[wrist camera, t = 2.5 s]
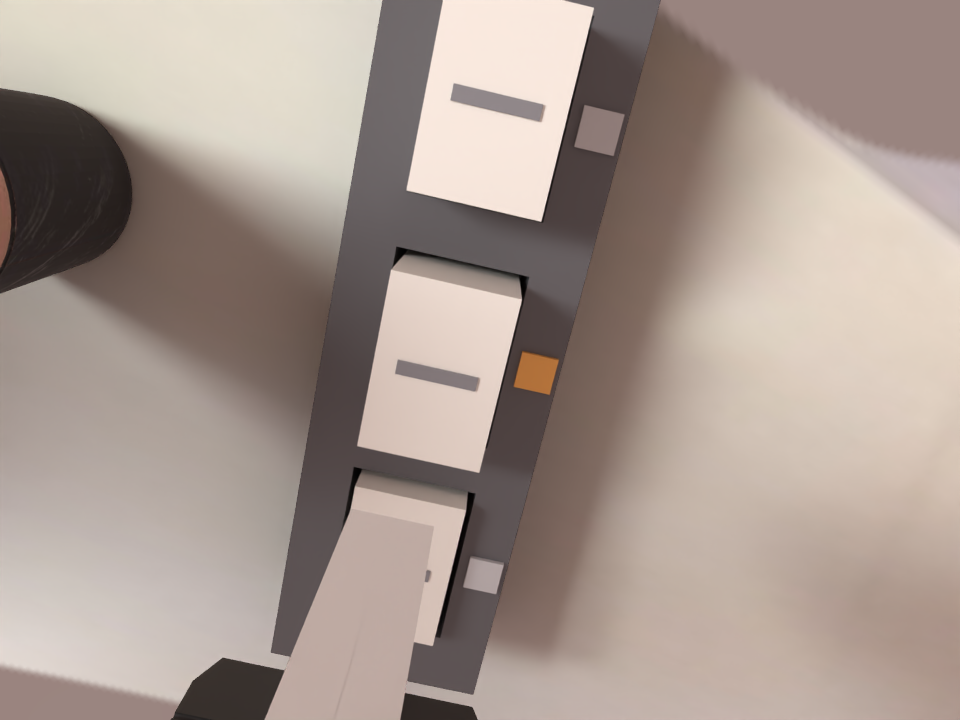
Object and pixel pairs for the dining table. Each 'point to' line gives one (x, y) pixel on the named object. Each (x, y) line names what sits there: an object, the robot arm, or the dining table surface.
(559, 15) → the button
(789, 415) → the dining table surface
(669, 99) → the dining table surface
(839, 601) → the dining table surface
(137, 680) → the dining table surface
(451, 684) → the power strip
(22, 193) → the travel mug
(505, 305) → the button
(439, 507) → the button
